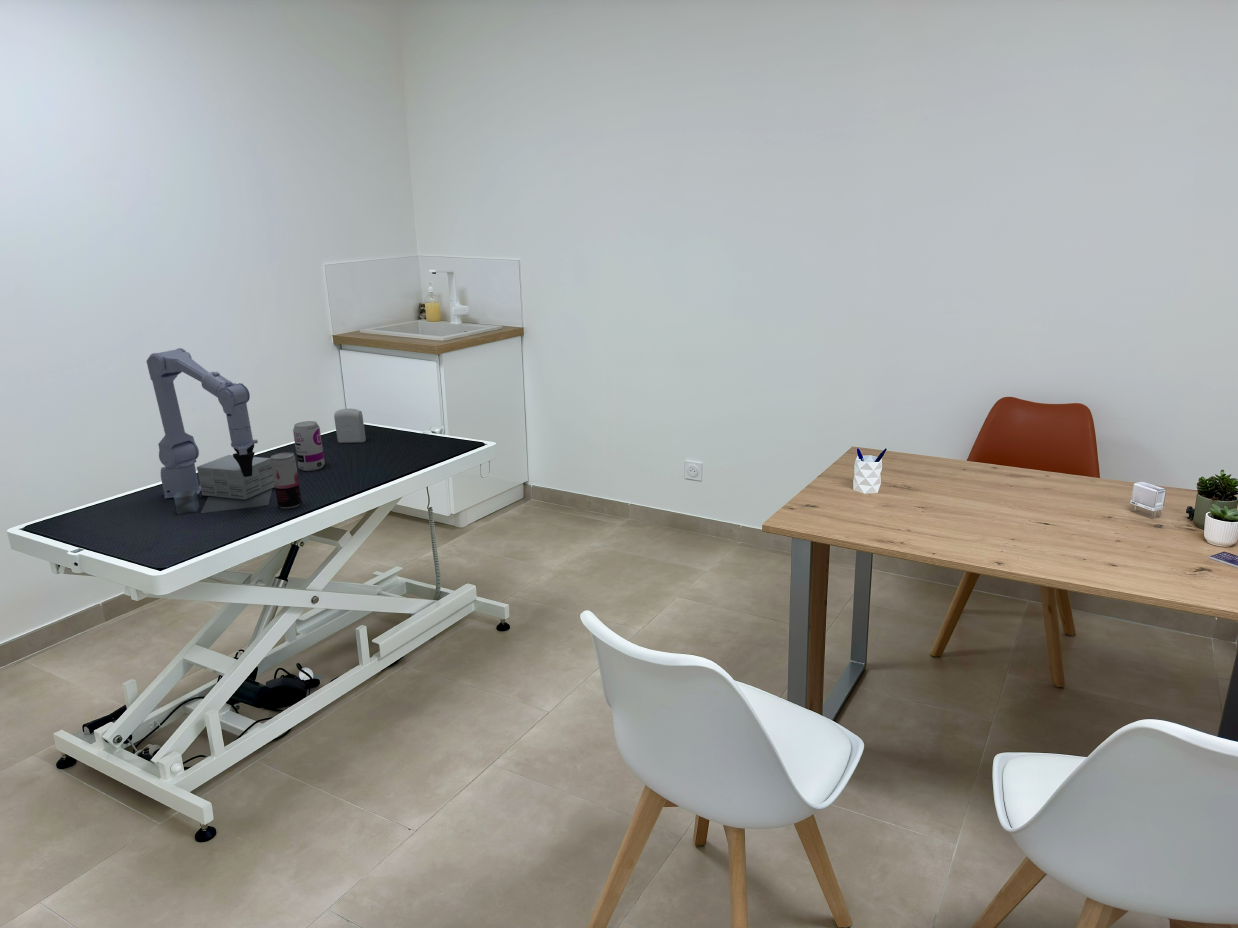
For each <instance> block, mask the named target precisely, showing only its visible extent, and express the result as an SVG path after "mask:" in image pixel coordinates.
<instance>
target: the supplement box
mask: <svg viewBox="0 0 1238 928" xmlns="http://www.w3.org/2000/svg"><path fill="white" fill-rule="evenodd" d="M196 472H197V477H198V482H199V486H201V491H200V492H201V496H207V497H208V496H215V497H224V498H234V499H244V500H246V499H248V498H250V497H253V496H255V495H257V494H260V493H262V492H264V491H266V490H269V489H271V488H273V489H274V488H275V485H274V479H273V472H272V466H271V457H257V456H254V457H253V461H252V476H249V477H244V476H243V474H242V471H241V469H240V466H239V464H238V462H237V461H236V460H235V459H234V457H233V454H227V455H224V456H222V457H219V458H216V459H214V460H211V461H208V462H206V463H203V464H201V465H199V466H197V467H196Z"/></svg>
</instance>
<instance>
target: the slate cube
mask: <svg viewBox="0 0 1238 928" xmlns="http://www.w3.org/2000/svg"><path fill="white" fill-rule="evenodd" d="M173 499H174V504H175V509H176V513H177V514H178V515H180V514H189V513H196V512H197V511H198V509H199V508H200V504H199V497H198V495H197V492H196V490H193V491H184V492H177V493H176V495H175V497H173Z"/></svg>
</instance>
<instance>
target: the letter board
mask: <svg viewBox="0 0 1238 928" xmlns="http://www.w3.org/2000/svg"><path fill="white" fill-rule="evenodd" d="M273 489H274V487H273V488H271V489H269V490H266V491H264V492H262V493H260V494H257V495H255V496H253V497H250V498H248V499H246V500H244V499H234V498H224V497H215V496H207V498H206V501H205V502H204V505H203V507H202V510H201V512H200V514H201V515H202V514H207V513H209V514H210V513H217V512H227V511H233V510H234V511H235V510H242V509H250V508H251V509H252V508H259V507H265V506H266V507H268V506H269V505H270V500H271V498H272V492H273Z"/></svg>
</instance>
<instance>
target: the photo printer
mask: <svg viewBox="0 0 1238 928" xmlns="http://www.w3.org/2000/svg"><path fill="white" fill-rule="evenodd" d="M333 419H334V425H335V432H336V438H337V442H338V443H342V444H343V443H345V444H346V443H365V442H366V439H367V437H366V432H365V425H364V423H365V422H364V417H363V413H362V411H361V410H359V409H357V408H356V409H355V408H342V409H338V410H336V411H334V414H333Z"/></svg>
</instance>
